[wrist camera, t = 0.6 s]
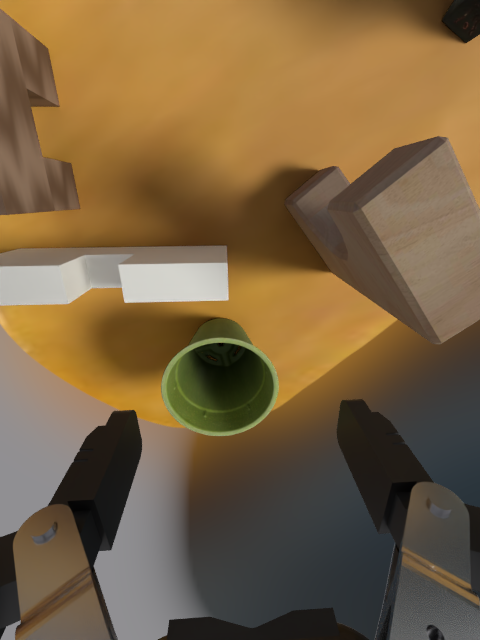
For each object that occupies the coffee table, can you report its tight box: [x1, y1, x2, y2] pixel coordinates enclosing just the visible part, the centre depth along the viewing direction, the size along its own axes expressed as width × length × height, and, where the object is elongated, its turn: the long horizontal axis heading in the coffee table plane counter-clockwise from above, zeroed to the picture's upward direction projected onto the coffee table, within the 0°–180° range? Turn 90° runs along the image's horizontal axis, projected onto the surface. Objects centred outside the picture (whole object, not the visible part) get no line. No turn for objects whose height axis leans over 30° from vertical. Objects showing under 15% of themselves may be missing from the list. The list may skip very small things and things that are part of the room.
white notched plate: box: [0, 246, 228, 305], centre depth 31 cm, size 4×24×10 cm, turn 90°
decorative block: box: [285, 136, 480, 344], centre depth 26 cm, size 11×6×20 cm, turn 38°
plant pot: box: [161, 318, 279, 436], centre depth 35 cm, size 12×12×11 cm
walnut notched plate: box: [0, 9, 80, 215], centre depth 25 cm, size 14×4×12 cm, turn 0°
